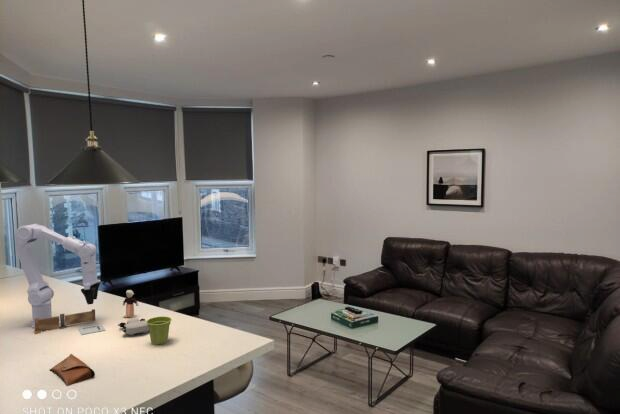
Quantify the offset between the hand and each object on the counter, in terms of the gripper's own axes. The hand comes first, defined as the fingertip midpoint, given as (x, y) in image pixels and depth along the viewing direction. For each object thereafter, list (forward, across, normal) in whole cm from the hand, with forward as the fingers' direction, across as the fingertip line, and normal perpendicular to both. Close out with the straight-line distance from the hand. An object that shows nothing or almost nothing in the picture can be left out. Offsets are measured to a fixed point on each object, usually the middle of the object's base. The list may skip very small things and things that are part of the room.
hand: (92, 301), depth 189 cm
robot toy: (+11, -16, -19) cm, 27 cm away
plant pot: (+12, -31, -29) cm, 44 cm away
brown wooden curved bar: (+8, -1, +6) cm, 11 cm away
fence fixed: (+9, -4, +16) cm, 19 cm away
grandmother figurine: (+10, +4, -14) cm, 18 cm away
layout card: (+10, -9, -1) cm, 13 cm away
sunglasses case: (+11, -52, -3) cm, 53 cm away
